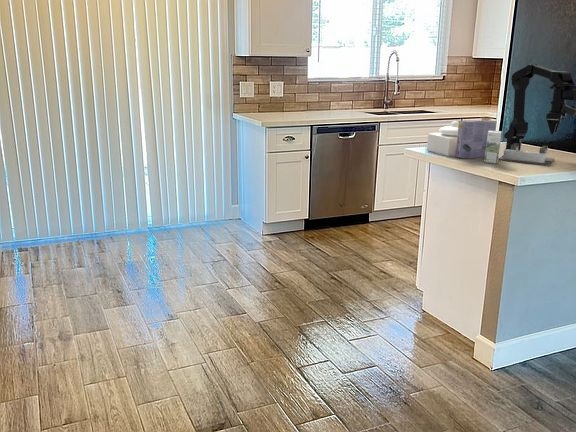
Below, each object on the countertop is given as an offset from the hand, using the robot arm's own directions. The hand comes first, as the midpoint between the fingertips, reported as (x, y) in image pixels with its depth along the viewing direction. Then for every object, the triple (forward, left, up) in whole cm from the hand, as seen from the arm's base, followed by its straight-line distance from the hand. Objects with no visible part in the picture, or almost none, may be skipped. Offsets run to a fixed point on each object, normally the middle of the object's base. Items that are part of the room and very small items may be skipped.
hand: (553, 132), depth 262 cm
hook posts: (-9, -6, -12) cm, 16 cm away
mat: (-9, -14, -12) cm, 21 cm away
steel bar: (-9, -14, -12) cm, 21 cm away
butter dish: (-45, -10, -13) cm, 48 cm away
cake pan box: (-31, -17, -13) cm, 38 cm away
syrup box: (-21, -26, -13) cm, 36 cm away
